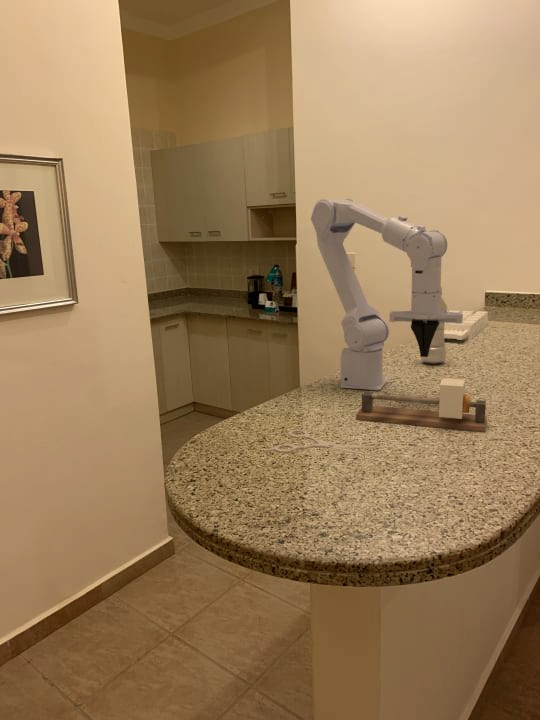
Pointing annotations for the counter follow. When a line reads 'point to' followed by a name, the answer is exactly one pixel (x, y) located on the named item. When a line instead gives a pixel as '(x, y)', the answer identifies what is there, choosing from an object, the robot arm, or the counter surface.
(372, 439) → the counter surface
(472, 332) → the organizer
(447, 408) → the tan wooden block
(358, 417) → the rod base
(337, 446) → the scissors
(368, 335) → the robot arm
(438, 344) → the plastic bottle
